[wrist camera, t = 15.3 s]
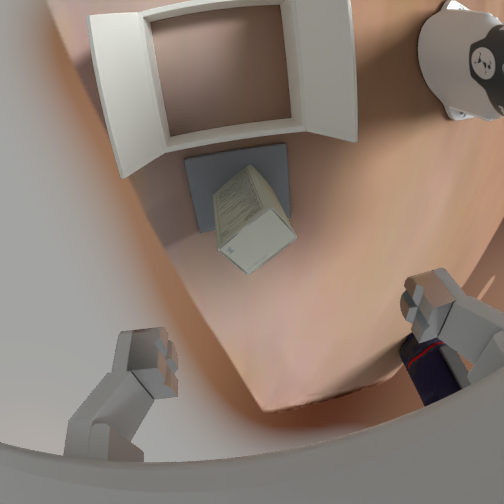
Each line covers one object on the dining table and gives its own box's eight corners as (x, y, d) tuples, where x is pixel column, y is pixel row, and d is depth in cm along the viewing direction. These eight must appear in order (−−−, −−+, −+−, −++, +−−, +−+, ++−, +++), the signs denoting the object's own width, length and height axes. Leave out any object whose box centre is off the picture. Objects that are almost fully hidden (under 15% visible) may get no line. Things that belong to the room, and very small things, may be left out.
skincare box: (234, 216, 39) (246, 278, 29) (210, 193, 37) (214, 251, 27) (273, 185, 38) (300, 239, 28) (250, 160, 35) (271, 206, 25)
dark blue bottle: (427, 348, 70) (474, 439, 46) (391, 359, 69) (437, 460, 45) (446, 313, 62) (507, 412, 38) (409, 324, 61) (469, 436, 37)
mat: (285, 142, 35) (286, 144, 35) (289, 215, 41) (290, 217, 41) (184, 158, 35) (183, 160, 34) (199, 230, 40) (199, 232, 40)
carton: (312, 0, 25) (349, -16, 17) (322, 120, 34) (358, 142, 26) (116, 26, 24) (84, 17, 16) (140, 148, 33) (120, 179, 25)
